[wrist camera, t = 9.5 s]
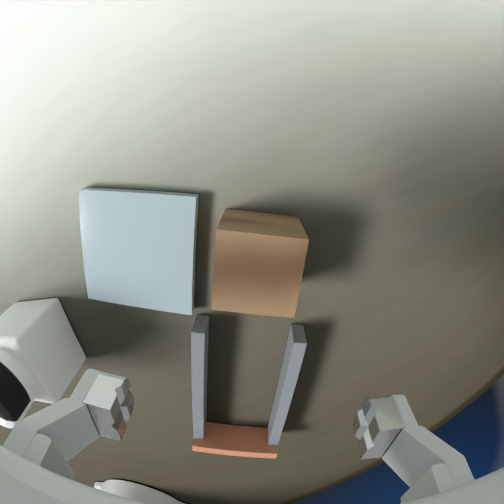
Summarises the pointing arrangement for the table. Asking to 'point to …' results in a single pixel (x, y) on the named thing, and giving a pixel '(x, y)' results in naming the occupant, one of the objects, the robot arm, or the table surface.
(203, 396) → the channel
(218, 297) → the block
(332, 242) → the table surface
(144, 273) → the tile
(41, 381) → the medicine bottle
